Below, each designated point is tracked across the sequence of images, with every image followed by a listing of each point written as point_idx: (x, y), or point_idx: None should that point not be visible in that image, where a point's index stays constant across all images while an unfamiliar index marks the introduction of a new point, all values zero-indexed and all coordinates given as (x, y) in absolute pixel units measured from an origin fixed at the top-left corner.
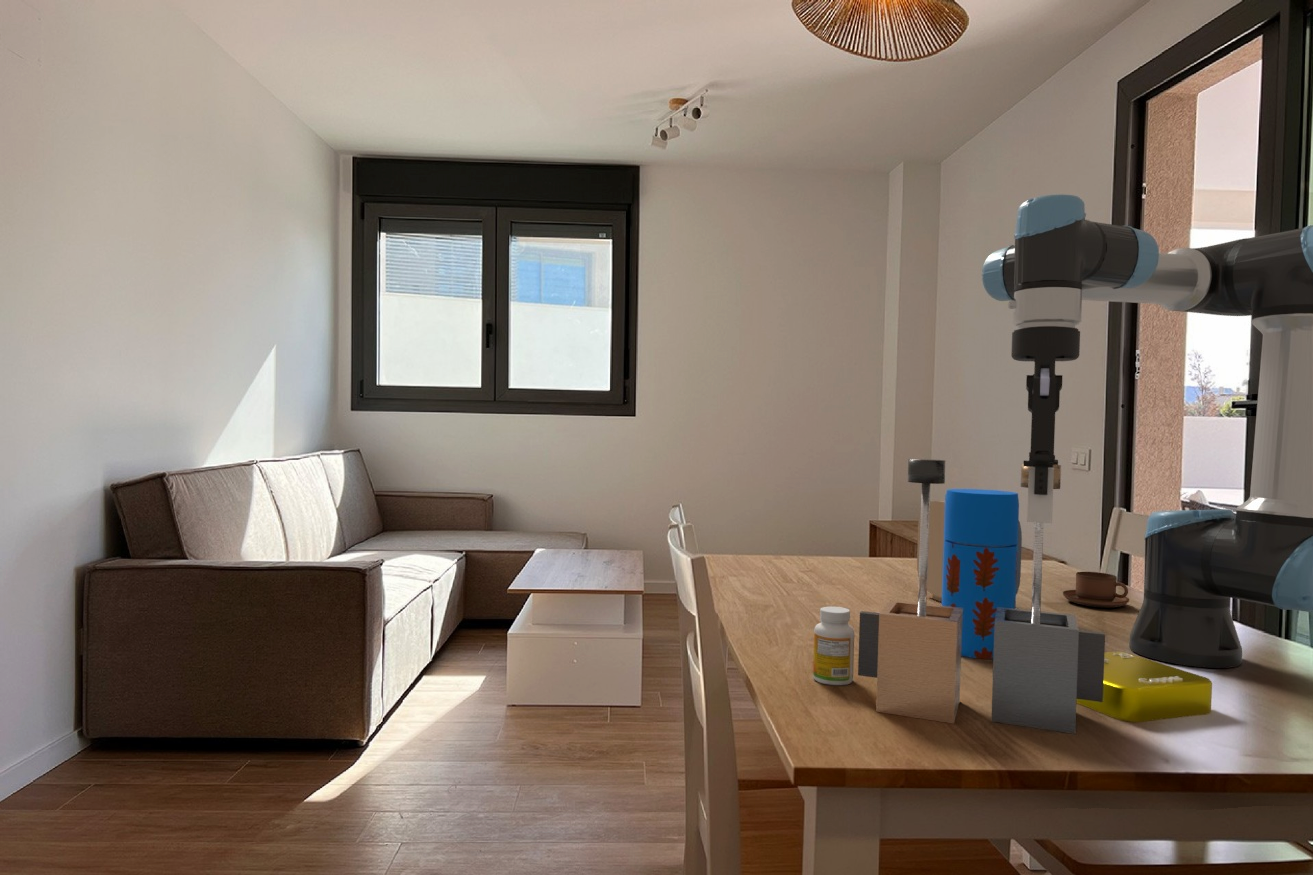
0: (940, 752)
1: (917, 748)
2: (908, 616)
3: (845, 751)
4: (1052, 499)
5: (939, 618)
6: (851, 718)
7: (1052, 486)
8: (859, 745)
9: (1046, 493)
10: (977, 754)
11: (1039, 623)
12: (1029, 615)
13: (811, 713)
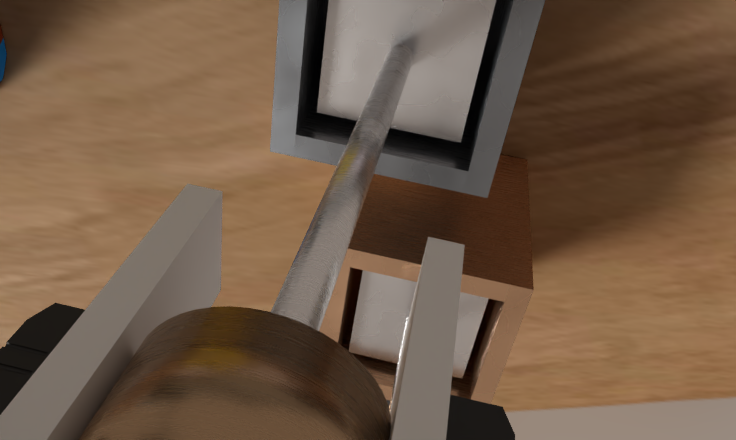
0: (698, 204)
1: (680, 237)
2: (495, 376)
3: (707, 336)
4: (453, 343)
5: (376, 283)
6: (537, 315)
7: (445, 418)
8: (675, 316)
9: (505, 419)
10: (703, 144)
11: (405, 53)
12: (303, 63)
13: (525, 364)
